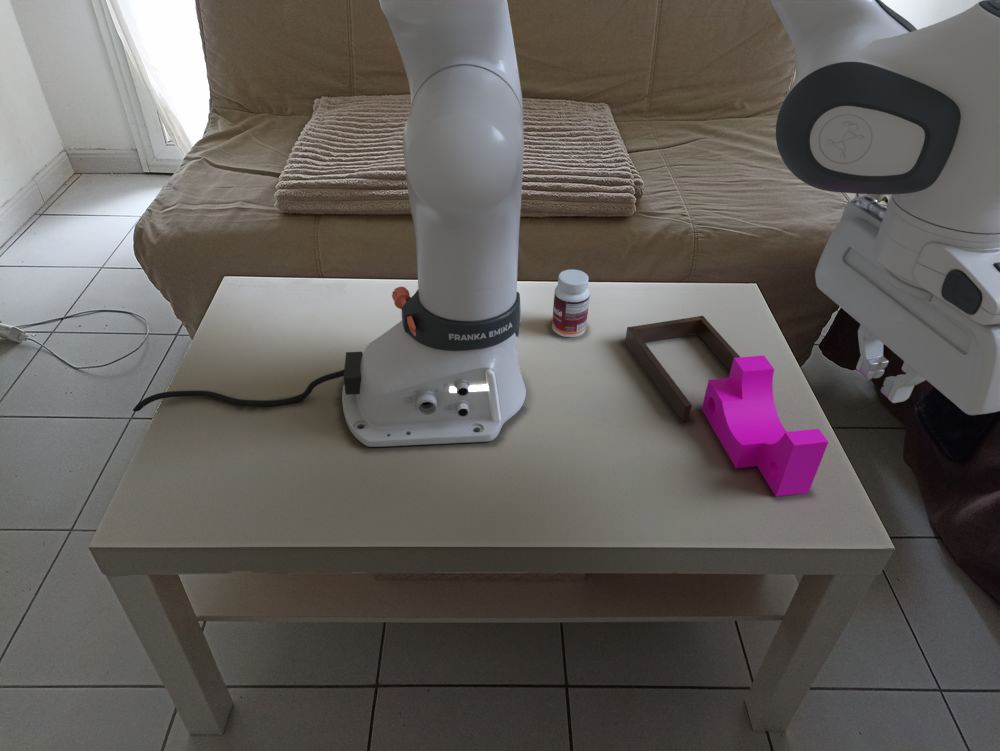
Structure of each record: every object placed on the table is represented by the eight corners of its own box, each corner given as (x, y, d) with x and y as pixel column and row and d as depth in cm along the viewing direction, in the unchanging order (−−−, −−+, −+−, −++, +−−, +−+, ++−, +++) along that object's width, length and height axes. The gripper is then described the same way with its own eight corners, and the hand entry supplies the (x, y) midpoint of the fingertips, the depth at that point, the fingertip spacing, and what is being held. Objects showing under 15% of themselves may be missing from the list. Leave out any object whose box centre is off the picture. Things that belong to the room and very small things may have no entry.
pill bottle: (548, 320, 106) (552, 268, 101) (581, 318, 107) (586, 266, 102) (555, 339, 103) (560, 287, 98) (589, 337, 103) (595, 284, 98)
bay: (682, 422, 90) (686, 405, 88) (624, 342, 103) (627, 327, 101) (766, 406, 92) (771, 390, 91) (699, 330, 105) (702, 315, 104)
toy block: (701, 408, 92) (713, 359, 87) (749, 404, 93) (763, 355, 88) (754, 499, 80) (771, 447, 75) (808, 492, 81) (828, 441, 76)
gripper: (822, 189, 64) (781, 325, 72) (1014, 320, 48) (933, 472, 57) (885, 182, 65) (837, 316, 74) (1090, 306, 50) (1000, 457, 58)
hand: (880, 385), depth 65 cm, fingers closed
